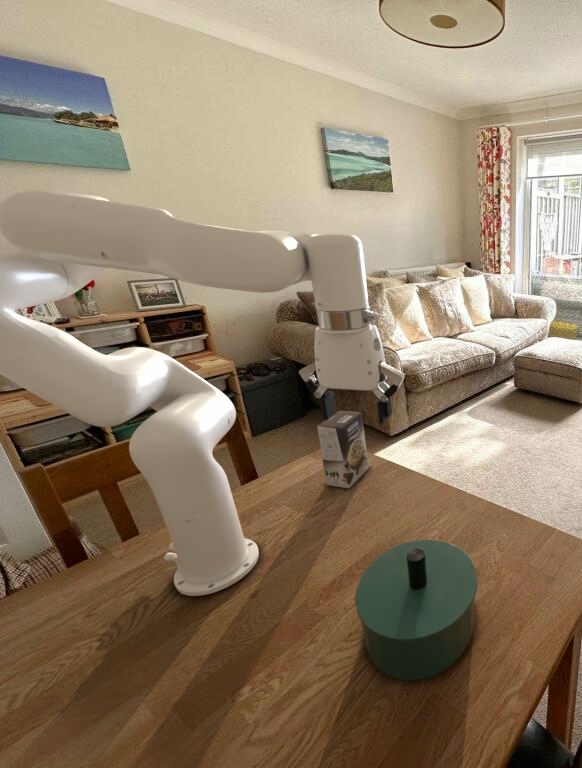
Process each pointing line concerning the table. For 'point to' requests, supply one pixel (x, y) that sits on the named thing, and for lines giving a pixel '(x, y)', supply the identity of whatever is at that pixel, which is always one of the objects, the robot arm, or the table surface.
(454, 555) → the cover
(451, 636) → the tin
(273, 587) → the table surface
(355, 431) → the coffee box
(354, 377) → the robot arm
